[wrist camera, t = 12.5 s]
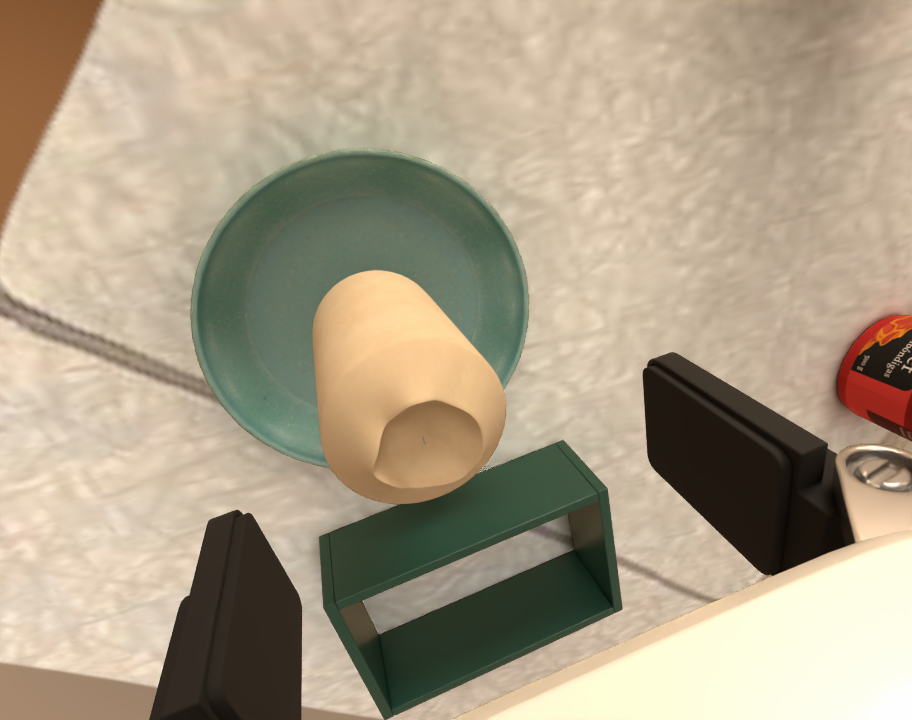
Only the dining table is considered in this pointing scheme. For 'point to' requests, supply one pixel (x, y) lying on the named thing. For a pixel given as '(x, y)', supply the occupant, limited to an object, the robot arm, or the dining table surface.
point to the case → (489, 611)
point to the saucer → (330, 261)
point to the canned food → (881, 375)
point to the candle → (400, 391)
